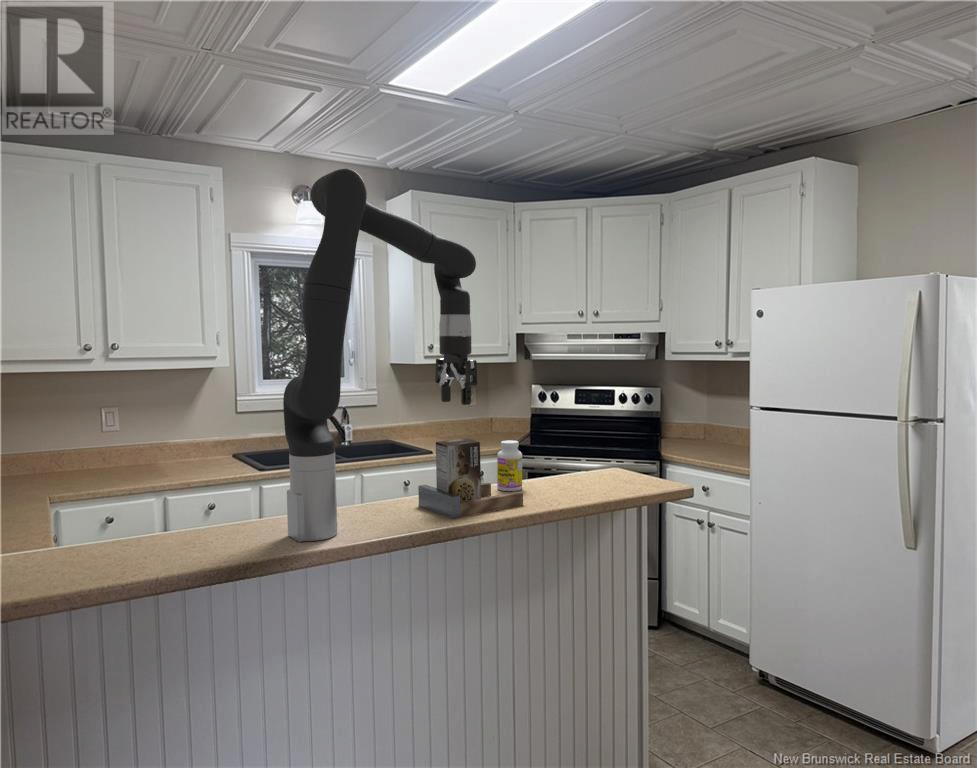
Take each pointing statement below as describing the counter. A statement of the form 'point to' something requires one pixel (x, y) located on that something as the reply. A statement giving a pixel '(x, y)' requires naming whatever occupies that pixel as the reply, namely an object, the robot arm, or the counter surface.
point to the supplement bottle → (509, 466)
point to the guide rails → (490, 502)
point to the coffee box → (459, 468)
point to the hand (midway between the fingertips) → (455, 403)
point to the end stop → (439, 501)
